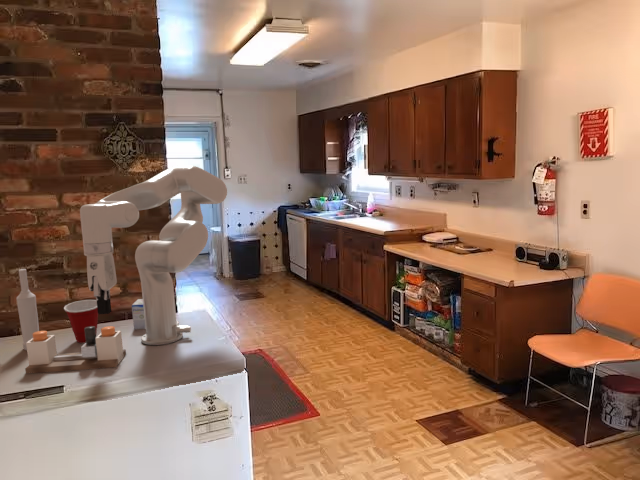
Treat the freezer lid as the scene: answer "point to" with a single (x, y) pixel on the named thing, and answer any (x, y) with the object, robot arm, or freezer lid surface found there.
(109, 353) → the pair of ball holders
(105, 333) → the ball
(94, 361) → the rail board
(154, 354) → the freezer lid surface
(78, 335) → the plastic cup
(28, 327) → the bottle
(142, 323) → the medicine box
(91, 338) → the carriage
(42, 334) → the gauge button
